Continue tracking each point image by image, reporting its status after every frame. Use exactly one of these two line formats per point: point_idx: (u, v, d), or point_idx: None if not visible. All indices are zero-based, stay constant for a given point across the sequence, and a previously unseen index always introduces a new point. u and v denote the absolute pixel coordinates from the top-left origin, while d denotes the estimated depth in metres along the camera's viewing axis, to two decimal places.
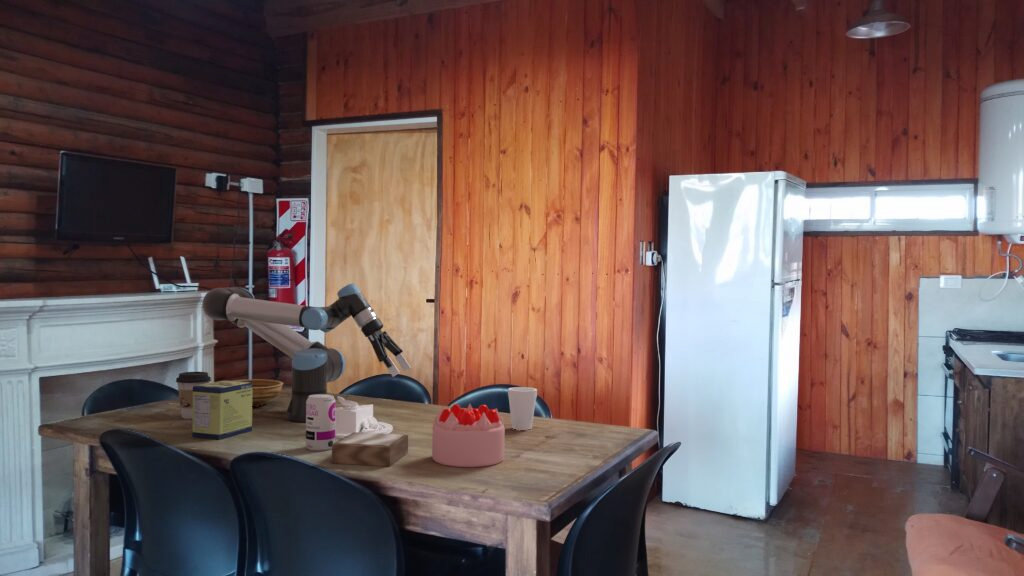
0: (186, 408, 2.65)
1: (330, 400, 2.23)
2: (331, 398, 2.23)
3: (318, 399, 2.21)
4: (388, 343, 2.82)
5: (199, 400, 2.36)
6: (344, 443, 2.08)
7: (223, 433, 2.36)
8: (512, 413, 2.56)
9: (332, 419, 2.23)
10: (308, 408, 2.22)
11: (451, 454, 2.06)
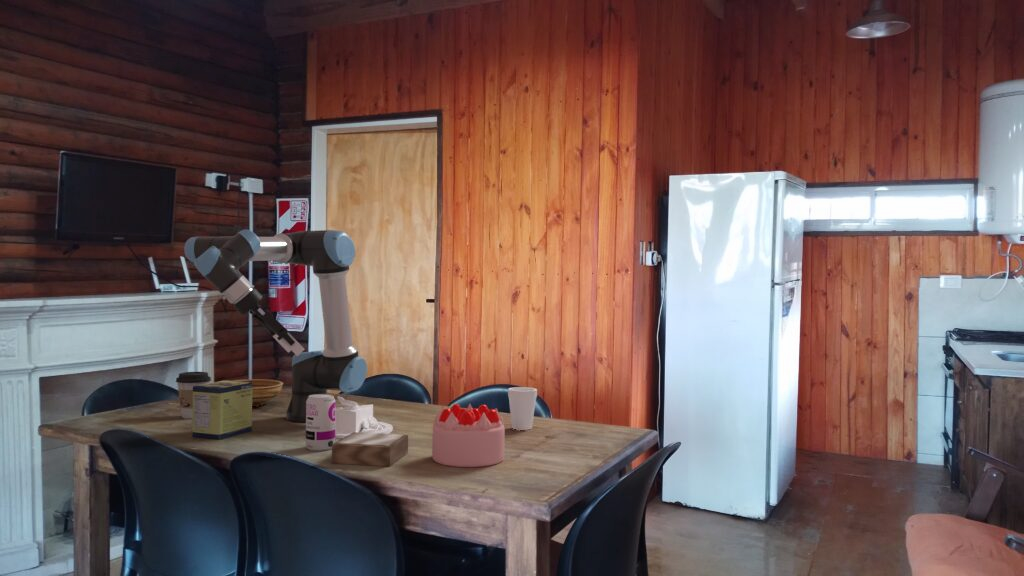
0: (186, 408, 2.65)
1: (330, 400, 2.23)
2: (331, 398, 2.23)
3: (318, 399, 2.21)
4: None
5: (199, 400, 2.36)
6: (344, 443, 2.08)
7: (223, 433, 2.36)
8: (512, 413, 2.56)
9: (332, 419, 2.23)
10: (308, 408, 2.22)
11: (451, 454, 2.06)
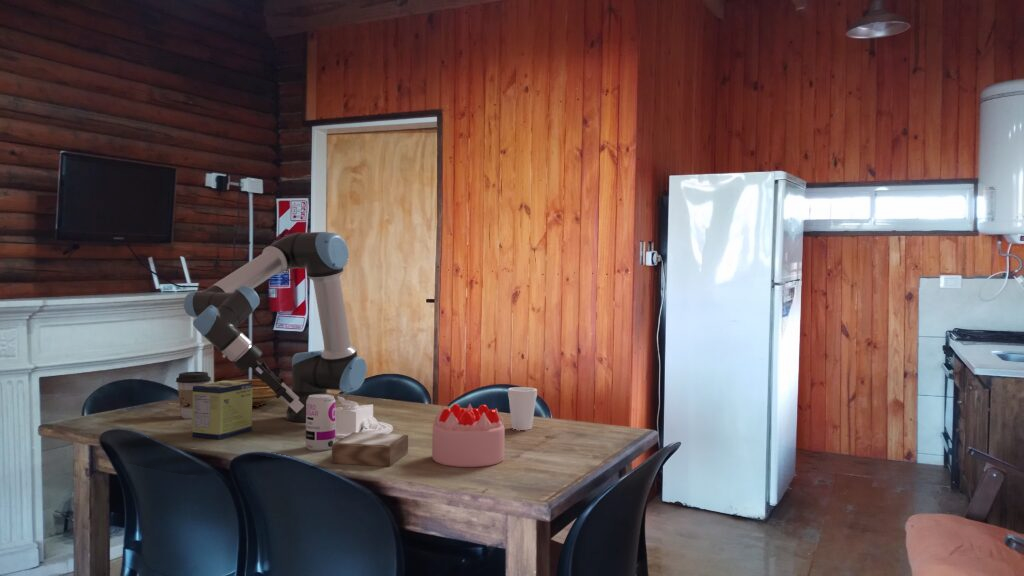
0: (186, 408, 2.65)
1: (330, 400, 2.23)
2: (331, 398, 2.23)
3: (318, 399, 2.21)
4: None
5: (199, 400, 2.36)
6: (344, 443, 2.08)
7: (223, 433, 2.36)
8: (512, 413, 2.56)
9: (332, 419, 2.23)
10: (308, 408, 2.22)
11: (451, 454, 2.06)
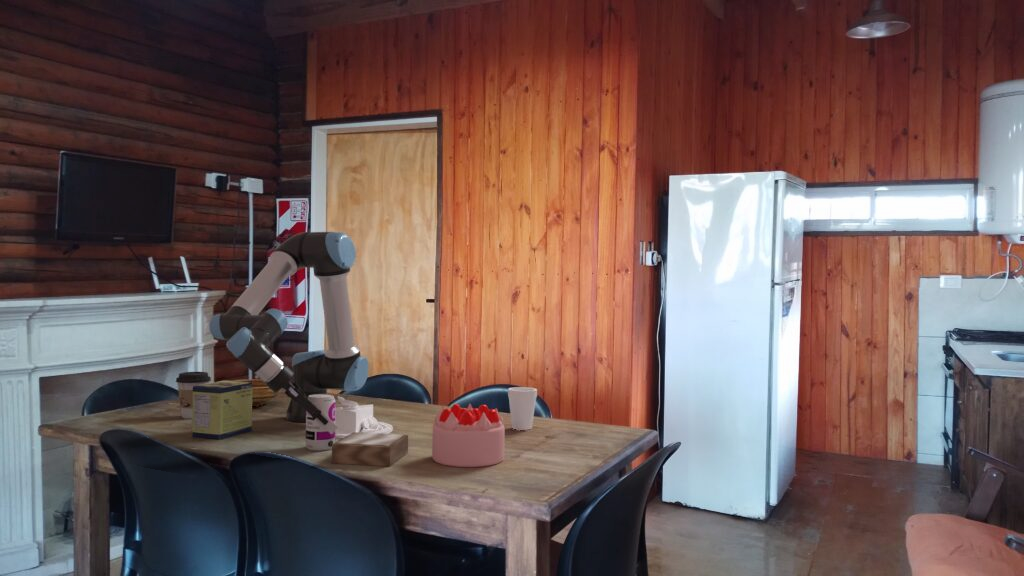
0: (186, 408, 2.65)
1: (330, 400, 2.23)
2: (331, 398, 2.23)
3: (318, 399, 2.21)
4: None
5: (199, 400, 2.36)
6: (344, 443, 2.08)
7: (223, 433, 2.36)
8: (512, 413, 2.56)
9: (332, 419, 2.23)
10: None
11: (451, 454, 2.06)
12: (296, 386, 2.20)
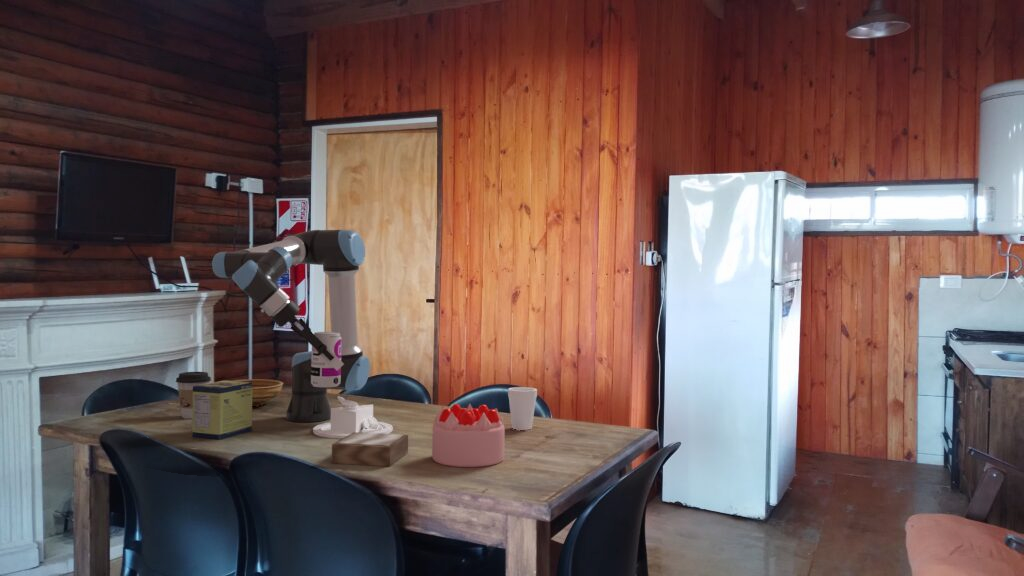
0: (186, 408, 2.65)
1: (336, 336, 2.19)
2: (337, 335, 2.20)
3: (324, 335, 2.18)
4: None
5: (199, 400, 2.36)
6: (344, 443, 2.08)
7: (223, 433, 2.36)
8: (512, 413, 2.56)
9: (338, 355, 2.20)
10: None
11: (451, 454, 2.06)
12: (302, 321, 2.17)
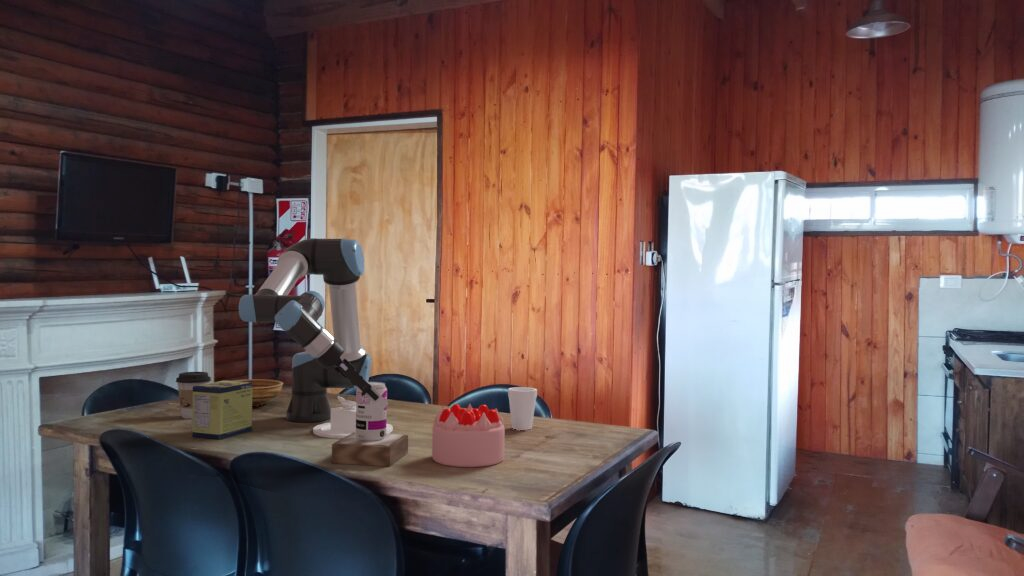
0: (186, 408, 2.65)
1: (382, 388, 2.12)
2: (383, 386, 2.13)
3: None
4: None
5: (199, 400, 2.36)
6: (344, 443, 2.08)
7: (223, 433, 2.36)
8: (512, 413, 2.56)
9: None
10: (359, 396, 2.11)
11: (451, 454, 2.06)
12: (346, 362, 2.09)
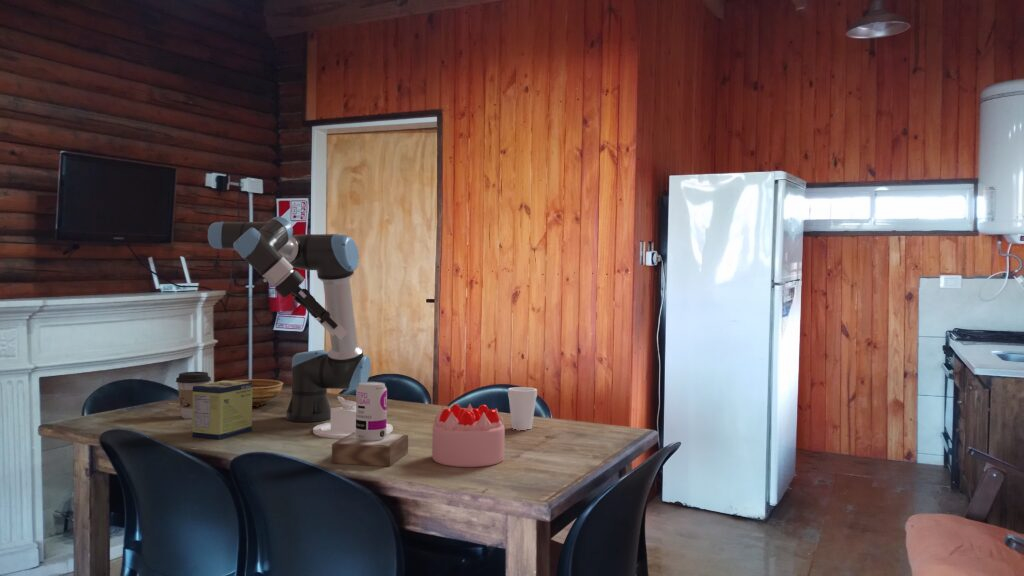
0: (186, 408, 2.65)
1: (382, 388, 2.12)
2: (383, 386, 2.13)
3: (370, 387, 2.10)
4: None
5: (199, 400, 2.36)
6: (344, 443, 2.08)
7: (223, 433, 2.36)
8: (512, 413, 2.56)
9: (384, 407, 2.12)
10: (359, 396, 2.11)
11: (451, 454, 2.06)
12: (306, 291, 2.09)
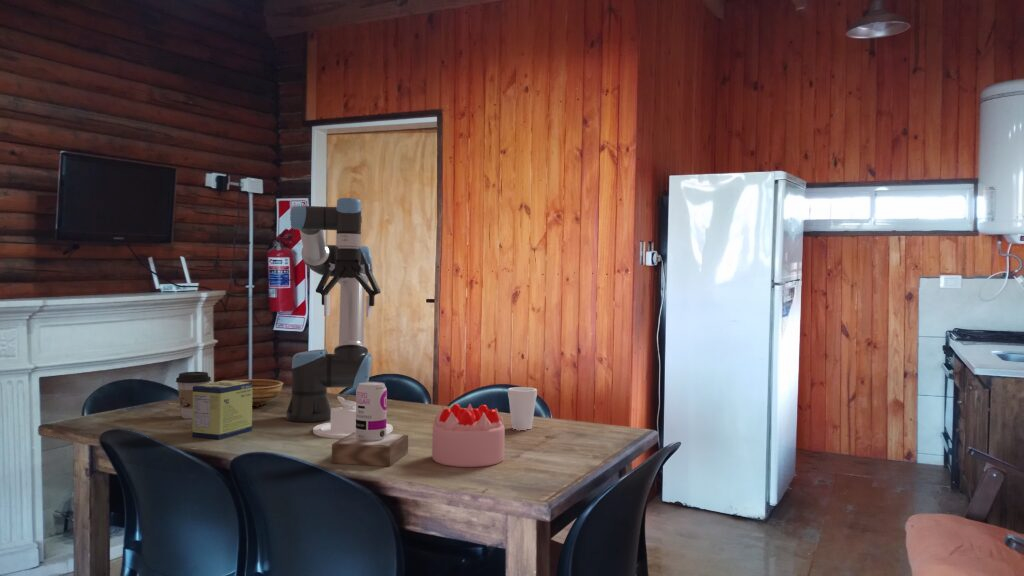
0: (186, 408, 2.65)
1: (382, 388, 2.12)
2: (383, 386, 2.13)
3: (370, 387, 2.10)
4: None
5: (199, 400, 2.36)
6: (344, 443, 2.08)
7: (223, 433, 2.36)
8: (512, 413, 2.56)
9: (384, 407, 2.12)
10: (359, 396, 2.11)
11: (451, 454, 2.06)
12: None
